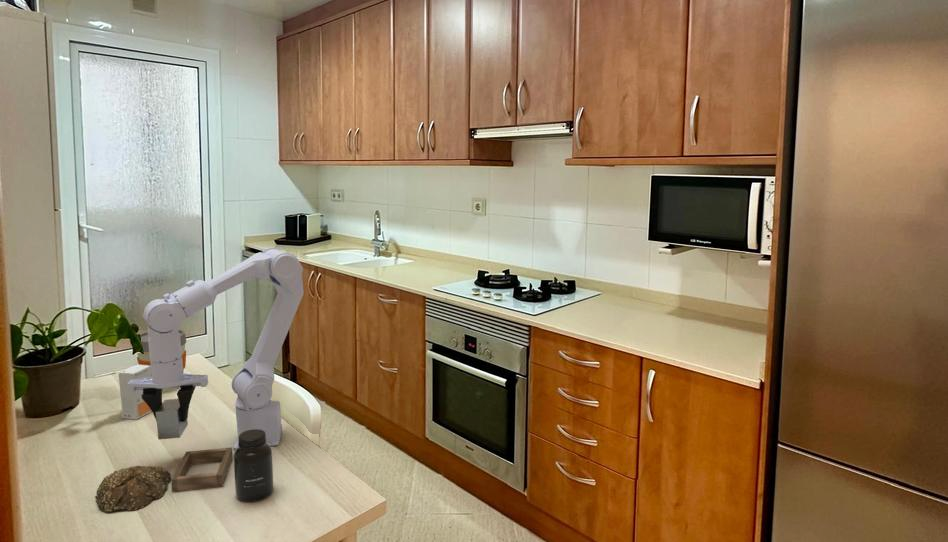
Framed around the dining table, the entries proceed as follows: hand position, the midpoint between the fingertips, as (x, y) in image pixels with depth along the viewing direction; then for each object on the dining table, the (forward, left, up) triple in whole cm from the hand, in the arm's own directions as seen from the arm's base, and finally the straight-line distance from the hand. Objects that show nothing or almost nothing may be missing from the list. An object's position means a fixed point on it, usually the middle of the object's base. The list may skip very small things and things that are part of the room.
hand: (172, 420), depth 118 cm
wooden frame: (-7, +6, -9) cm, 13 cm away
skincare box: (+15, -27, -10) cm, 32 cm away
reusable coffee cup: (+14, -45, -10) cm, 48 cm away
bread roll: (+5, +11, -10) cm, 15 cm away
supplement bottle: (-18, +15, -10) cm, 25 cm away
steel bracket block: (0, 0, -3) cm, 2 cm away
